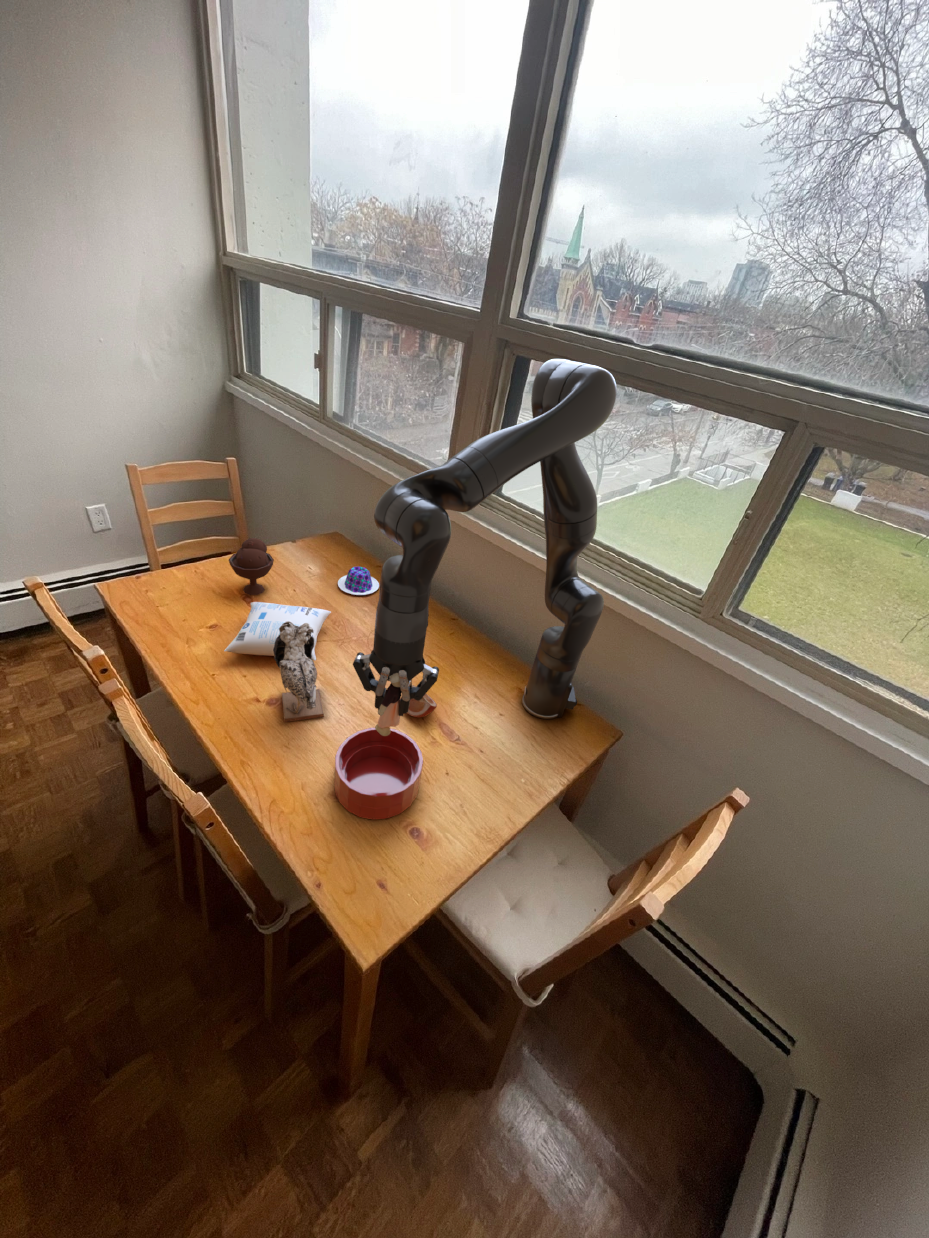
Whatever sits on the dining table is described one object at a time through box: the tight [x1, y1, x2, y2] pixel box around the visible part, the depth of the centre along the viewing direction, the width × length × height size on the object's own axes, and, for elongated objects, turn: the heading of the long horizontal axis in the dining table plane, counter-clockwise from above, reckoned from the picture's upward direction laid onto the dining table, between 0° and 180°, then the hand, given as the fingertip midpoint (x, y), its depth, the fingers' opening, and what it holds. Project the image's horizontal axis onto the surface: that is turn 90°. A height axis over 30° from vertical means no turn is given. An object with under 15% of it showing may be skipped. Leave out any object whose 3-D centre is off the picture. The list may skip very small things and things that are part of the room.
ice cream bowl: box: [228, 537, 275, 596], centre depth 136 cm, size 11×11×15 cm
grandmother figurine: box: [374, 673, 402, 736], centre depth 82 cm, size 8×4×13 cm, turn 171°
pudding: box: [337, 566, 380, 596], centre depth 148 cm, size 12×12×5 cm
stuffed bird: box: [273, 621, 325, 723], centre depth 103 cm, size 10×20×17 cm, turn 39°
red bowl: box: [334, 726, 424, 821], centre depth 92 cm, size 15×15×7 cm
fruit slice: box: [407, 684, 438, 718], centre depth 110 cm, size 8×7×5 cm
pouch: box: [223, 601, 332, 661], centre depth 121 cm, size 8×19×20 cm
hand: (391, 710), depth 83 cm, fingers closed on grandmother figurine, 3 cm apart
